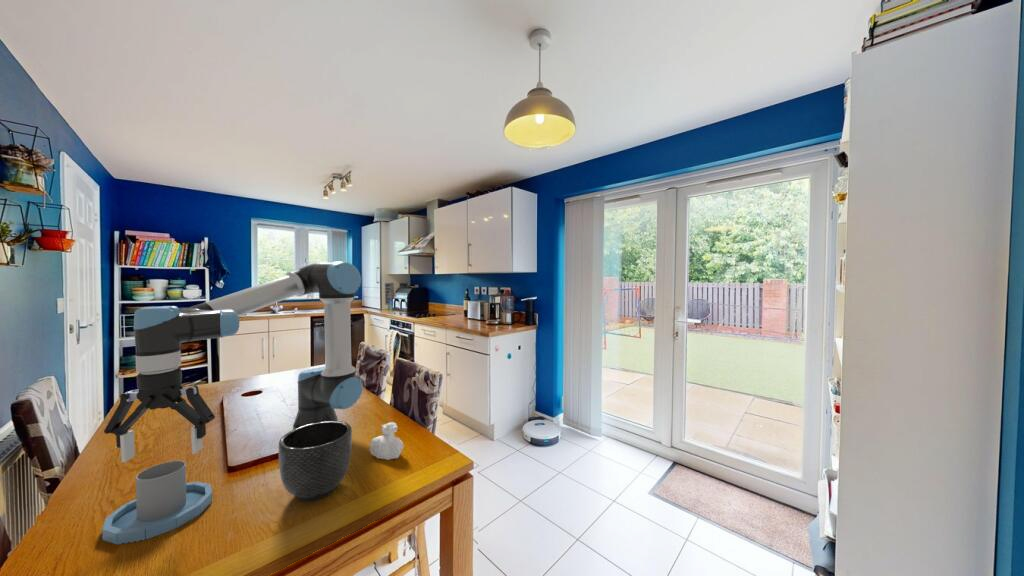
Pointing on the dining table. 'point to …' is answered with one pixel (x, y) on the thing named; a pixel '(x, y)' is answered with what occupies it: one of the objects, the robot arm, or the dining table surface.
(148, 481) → the cup
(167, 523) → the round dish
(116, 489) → the dining table surface
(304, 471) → the planter
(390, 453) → the duck figurine
